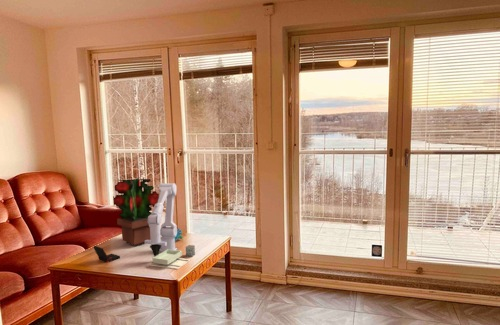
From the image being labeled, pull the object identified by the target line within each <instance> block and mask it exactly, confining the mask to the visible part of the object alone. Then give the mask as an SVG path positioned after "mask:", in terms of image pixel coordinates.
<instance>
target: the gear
mask: <svg viewBox="0 0 500 325" xmlns="http://www.w3.org/2000/svg"><path fill="white" fill-rule="evenodd" d="M178 240H182V241H183V240H184V236H183V232H182V229H180V228H177V235H176V236H175V242H177V241H178Z"/></svg>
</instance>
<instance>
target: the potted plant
mask: <svg viewBox="0 0 500 325" xmlns="http://www.w3.org/2000/svg"><path fill="white" fill-rule="evenodd" d="M148 183H151V178H140V177H137V178H134V179H133V178H131V179H118V182H117V183H116V184H115V185H114V191H116V192H117V193H118V194H116V195H115V196H114V195H112V197H113V198H112V201H113V202H112V203H113V206H116V207H117V208H118V209H119V210H121V213H119V214H118V216H119V218H117V219H116V220H117V221H116V223H117V224H116V225H118V226H120V227H121V240H122V242H125V243H126V244H129V245H131V246H132V247H139V246H141V245H146V244H145V240H151V239H150V227H149V224H148V216H149V215H150V214H151V213H152V211H153V208H154V205H155V204H156V203H157V202H158V199H159V195H160V193H158V191H156V190H154V188H155V187H154V186H153V185H149V184H148ZM152 207H153V208H152Z"/></svg>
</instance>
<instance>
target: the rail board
mask: <svg viewBox="0 0 500 325" xmlns="http://www.w3.org/2000/svg"><path fill="white" fill-rule="evenodd" d="M190 261H191V259H188V258H183V257H179V258H178V259H176V260H174V261H173V262H171V263H170V264H169V265H166V264H158V263H153V261H152V262H150V263H149V266H150V267H157V268H164V269H165V268H167V269H173V270H179V269H181V267H184V265H186V264H187V263H189V262H190Z"/></svg>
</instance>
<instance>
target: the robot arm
mask: <svg viewBox="0 0 500 325" xmlns="http://www.w3.org/2000/svg"><path fill="white" fill-rule="evenodd" d="M177 190H178V186H177V184H176V183H175V182H174V183H171V182H170V183H169V182H167V183H165V182H161V183H160V184H159V187H158V191H159V199H158V202H157V203H156V204H155V205H154V207H153V208H152V210H151V212H152V213H151V214H150V215H149V216H148V224H149V227H150V239H151V240H145V244H144V245H149V248H150V249H151V251H152V254H153V257H155V256H157V255H158V254H160V253H162V252H164V251H165V250H167V249H170V250H178V248H177V247H176V241H175V236H176V235H177V230H178V225H177V224H176V223H175V222H174V207H175V206H174V205H175V197H177ZM164 203H165V206H164ZM164 208H165V214H164V222H163V223H162V224H161V222H162V214H163V212H164Z"/></svg>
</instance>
